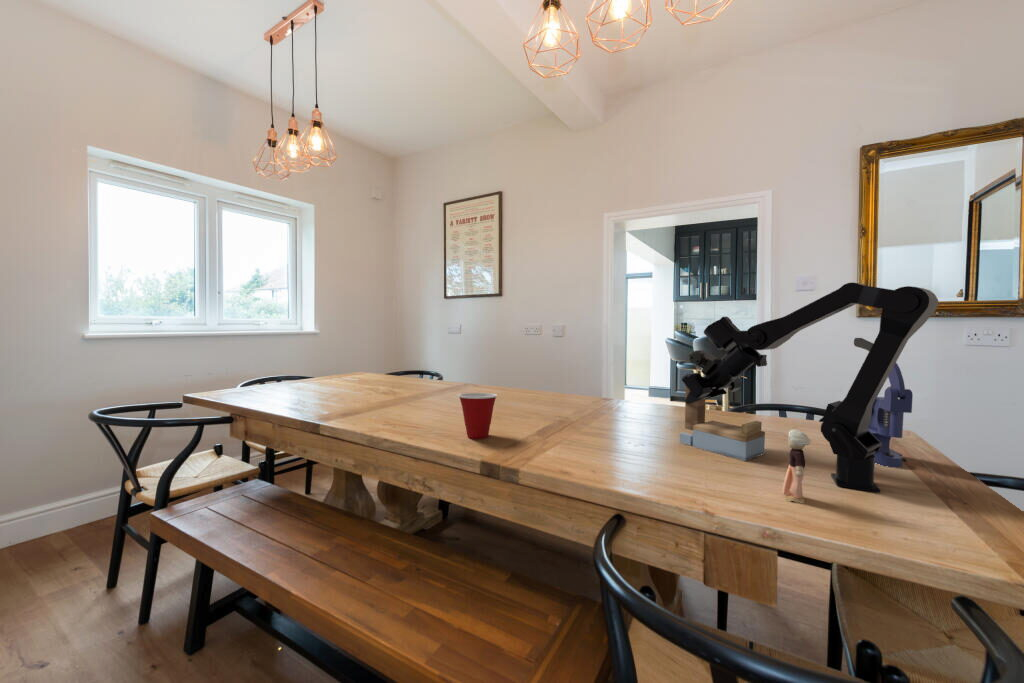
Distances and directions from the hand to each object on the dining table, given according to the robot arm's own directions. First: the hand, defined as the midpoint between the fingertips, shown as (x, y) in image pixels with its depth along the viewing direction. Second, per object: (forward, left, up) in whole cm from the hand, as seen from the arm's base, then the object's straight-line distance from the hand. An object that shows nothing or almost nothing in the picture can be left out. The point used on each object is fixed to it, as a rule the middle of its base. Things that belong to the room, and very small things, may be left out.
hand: (690, 401), depth 108 cm
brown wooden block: (-1, -1, -7) cm, 7 cm away
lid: (-5, -9, -6) cm, 12 cm away
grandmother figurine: (-30, -21, -11) cm, 38 cm away
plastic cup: (-26, +51, -11) cm, 59 cm away
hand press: (+8, -40, -11) cm, 42 cm away
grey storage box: (-4, -7, -10) cm, 13 cm away
